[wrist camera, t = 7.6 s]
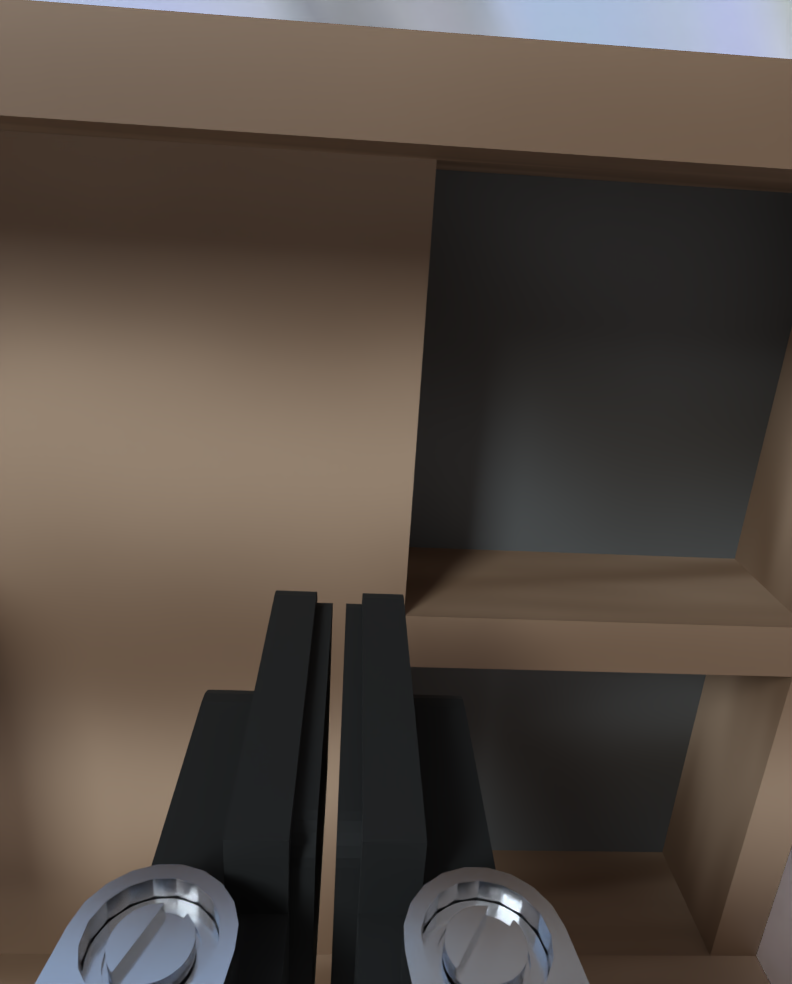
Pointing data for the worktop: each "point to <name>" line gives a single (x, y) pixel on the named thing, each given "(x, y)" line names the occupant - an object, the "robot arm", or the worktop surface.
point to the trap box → (402, 442)
